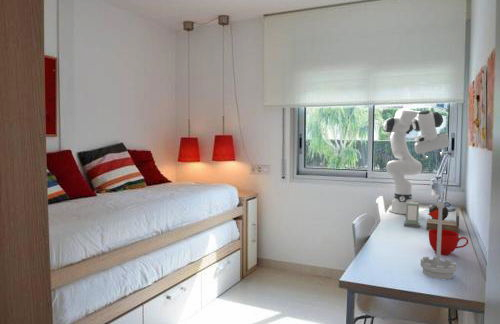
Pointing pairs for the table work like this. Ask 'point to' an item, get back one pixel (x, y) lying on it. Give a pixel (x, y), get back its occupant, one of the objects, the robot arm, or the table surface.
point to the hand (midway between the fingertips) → (434, 157)
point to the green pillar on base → (412, 215)
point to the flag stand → (438, 254)
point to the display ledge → (444, 224)
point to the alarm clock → (434, 207)
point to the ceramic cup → (445, 241)
